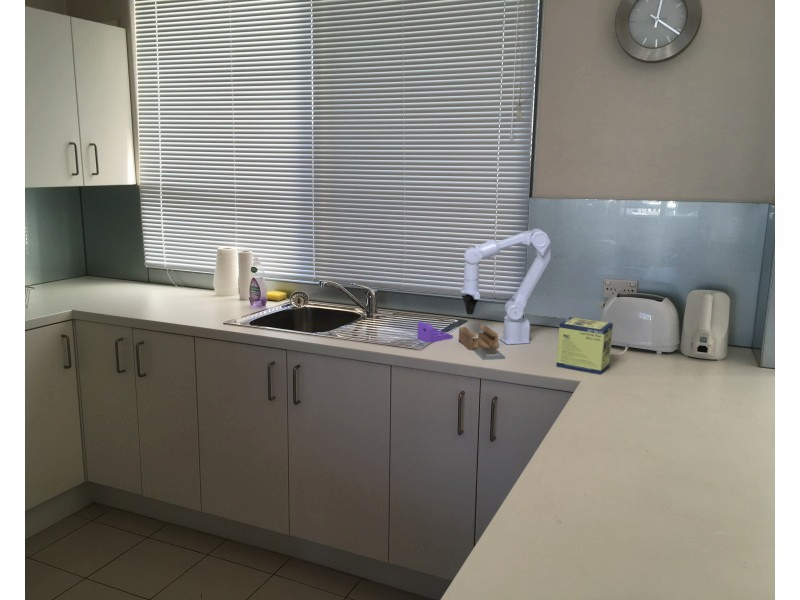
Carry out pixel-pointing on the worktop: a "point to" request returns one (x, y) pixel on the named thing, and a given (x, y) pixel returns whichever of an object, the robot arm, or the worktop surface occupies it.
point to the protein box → (584, 345)
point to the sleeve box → (483, 340)
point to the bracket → (431, 333)
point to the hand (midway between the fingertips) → (469, 314)
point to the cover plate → (488, 353)
